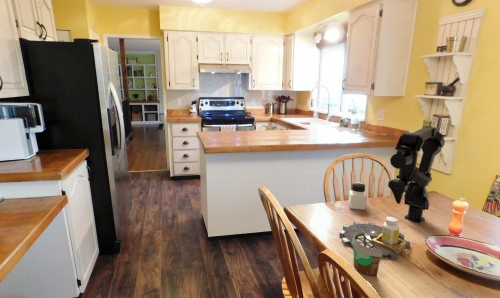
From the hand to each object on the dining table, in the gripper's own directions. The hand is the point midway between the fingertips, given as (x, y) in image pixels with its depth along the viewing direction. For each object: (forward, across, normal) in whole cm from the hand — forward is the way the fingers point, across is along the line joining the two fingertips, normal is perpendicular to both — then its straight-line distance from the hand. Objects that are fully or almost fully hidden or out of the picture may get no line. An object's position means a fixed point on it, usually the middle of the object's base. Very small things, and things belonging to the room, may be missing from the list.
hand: (403, 200), depth 116 cm
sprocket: (+13, -17, +3) cm, 22 cm away
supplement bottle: (+12, -17, -3) cm, 21 cm away
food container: (+13, -37, -3) cm, 39 cm away
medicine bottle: (+13, +8, +24) cm, 29 cm away
